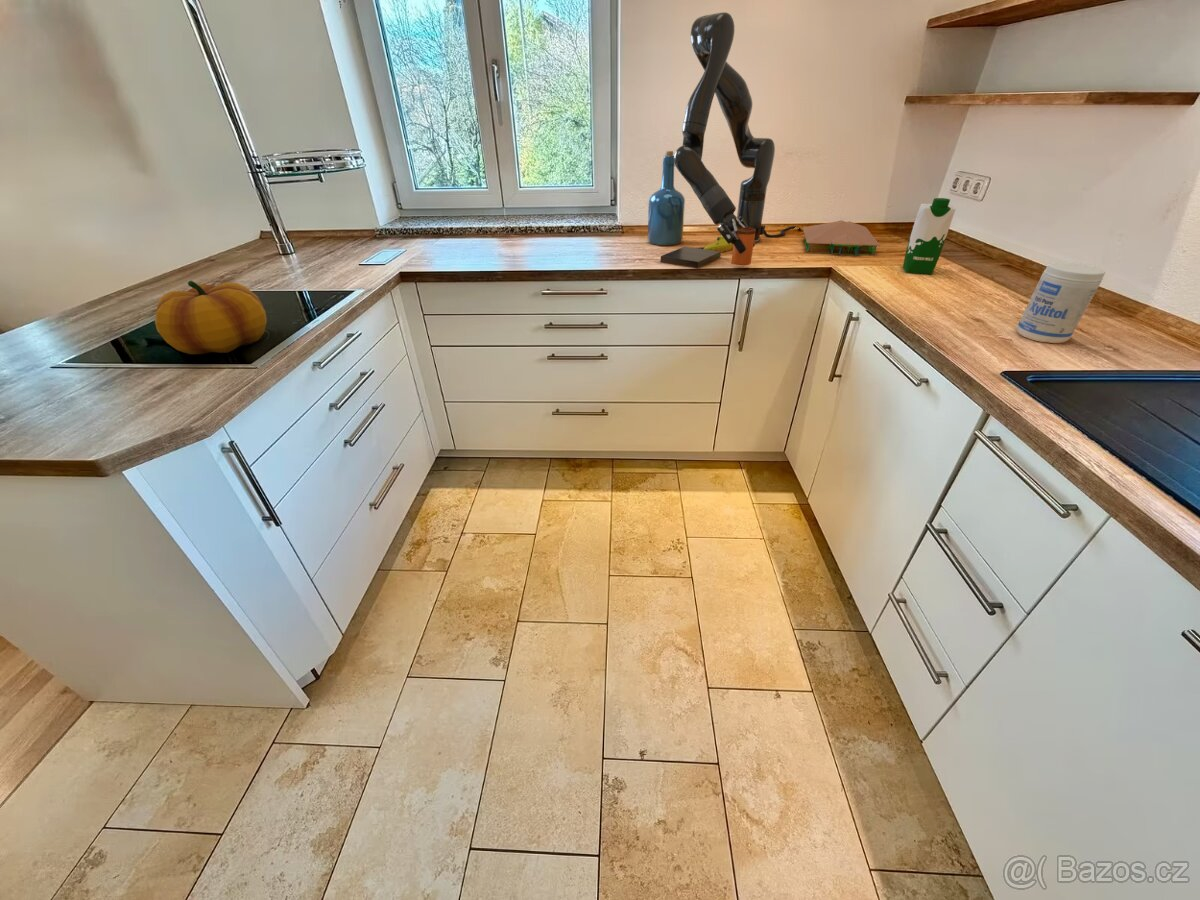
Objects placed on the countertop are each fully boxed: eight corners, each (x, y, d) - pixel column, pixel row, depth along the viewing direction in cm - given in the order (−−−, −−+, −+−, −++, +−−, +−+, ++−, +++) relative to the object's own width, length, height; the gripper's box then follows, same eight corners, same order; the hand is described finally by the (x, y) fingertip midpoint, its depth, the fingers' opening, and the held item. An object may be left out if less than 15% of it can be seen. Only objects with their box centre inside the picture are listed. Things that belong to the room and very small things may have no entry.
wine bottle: (684, 246, 188) (691, 152, 171) (648, 246, 188) (651, 153, 171) (680, 237, 199) (685, 149, 182) (646, 238, 199) (648, 150, 182)
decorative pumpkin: (254, 360, 110) (223, 290, 101) (147, 366, 109) (107, 296, 100) (293, 326, 126) (269, 264, 118) (201, 331, 125) (171, 269, 117)
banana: (733, 230, 189) (692, 236, 191) (739, 236, 174) (695, 244, 177) (734, 242, 191) (693, 249, 194) (740, 250, 176) (696, 257, 179)
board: (684, 252, 180) (684, 246, 179) (720, 257, 173) (721, 251, 172) (660, 262, 169) (660, 256, 168) (697, 268, 162) (698, 261, 161)
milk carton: (903, 273, 152) (925, 200, 141) (899, 265, 159) (920, 195, 148) (936, 275, 150) (961, 200, 139) (930, 267, 157) (954, 196, 146)
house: (805, 254, 173) (810, 229, 169) (800, 234, 199) (804, 211, 195) (878, 257, 168) (886, 231, 163) (863, 236, 194) (869, 213, 190)
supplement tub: (1012, 337, 111) (1043, 268, 102) (1017, 324, 117) (1048, 258, 108) (1068, 348, 105) (1106, 276, 97) (1071, 334, 111) (1107, 265, 103)
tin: (736, 259, 165) (740, 226, 159) (753, 262, 162) (758, 228, 156) (728, 263, 161) (732, 229, 155) (745, 266, 158) (750, 232, 152)
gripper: (715, 198, 150) (747, 246, 150) (736, 192, 159) (766, 237, 160) (697, 216, 155) (729, 262, 156) (719, 209, 165) (748, 252, 165)
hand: (747, 249), depth 158 cm, fingers closed on tin, 6 cm apart
